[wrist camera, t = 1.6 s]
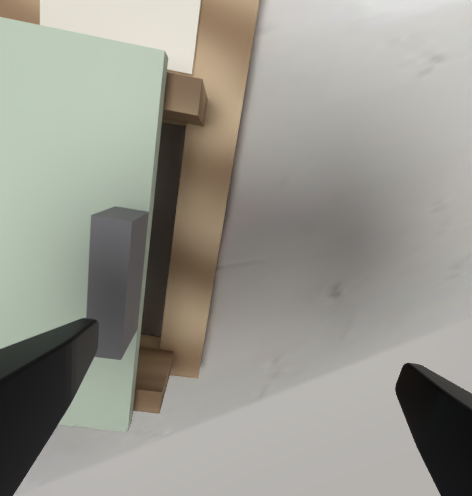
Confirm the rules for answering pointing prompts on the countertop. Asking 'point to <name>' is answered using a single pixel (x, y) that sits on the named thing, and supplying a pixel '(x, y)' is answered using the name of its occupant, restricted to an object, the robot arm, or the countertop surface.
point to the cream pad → (133, 24)
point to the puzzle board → (192, 184)
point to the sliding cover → (78, 199)
